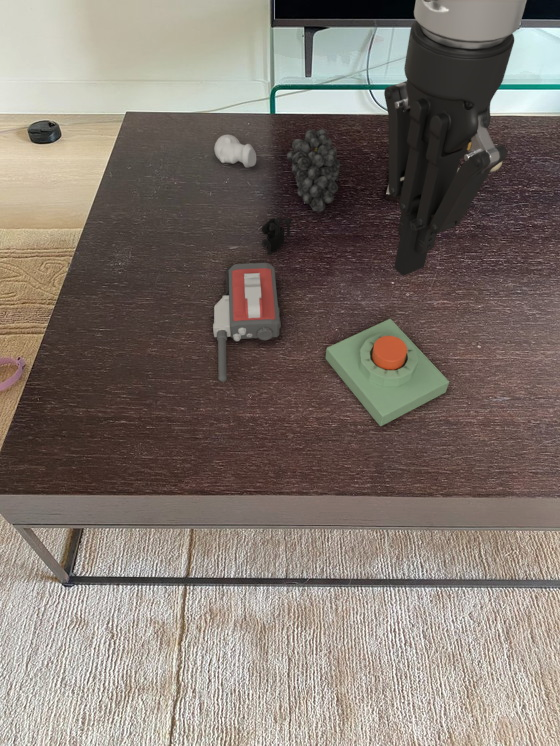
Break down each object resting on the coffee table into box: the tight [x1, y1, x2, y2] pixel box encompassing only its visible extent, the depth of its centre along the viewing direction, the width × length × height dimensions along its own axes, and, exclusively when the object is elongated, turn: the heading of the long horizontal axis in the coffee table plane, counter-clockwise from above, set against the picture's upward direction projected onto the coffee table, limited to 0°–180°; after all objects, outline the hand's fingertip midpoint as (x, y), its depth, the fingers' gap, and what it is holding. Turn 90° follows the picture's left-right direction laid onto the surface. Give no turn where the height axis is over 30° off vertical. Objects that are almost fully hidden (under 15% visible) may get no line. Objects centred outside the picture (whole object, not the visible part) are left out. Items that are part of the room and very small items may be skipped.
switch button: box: [372, 336, 407, 370], centre depth 75 cm, size 4×4×2 cm
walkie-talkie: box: [212, 262, 282, 383], centre depth 81 cm, size 9×4×20 cm
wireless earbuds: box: [261, 216, 292, 257], centre depth 91 cm, size 7×2×5 cm, turn 145°
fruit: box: [286, 128, 341, 213], centre depth 98 cm, size 9×8×15 cm
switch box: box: [325, 318, 450, 427], centre depth 77 cm, size 12×10×4 cm
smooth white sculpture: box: [213, 134, 257, 169], centre depth 105 cm, size 4×8×5 cm
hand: (408, 267), depth 64 cm, fingers closed
